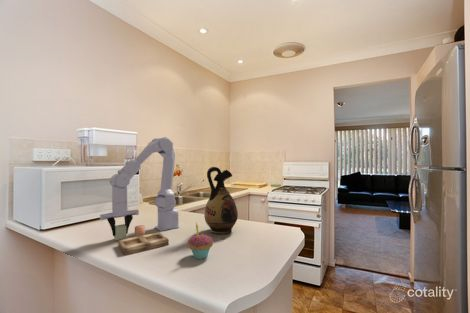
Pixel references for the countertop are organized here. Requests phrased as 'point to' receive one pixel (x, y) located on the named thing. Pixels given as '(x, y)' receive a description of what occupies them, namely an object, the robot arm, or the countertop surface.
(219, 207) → the ceramic jug
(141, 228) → the terracotta dowel
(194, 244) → the cupcake
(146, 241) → the pocket board
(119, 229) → the sage cube
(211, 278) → the countertop surface
